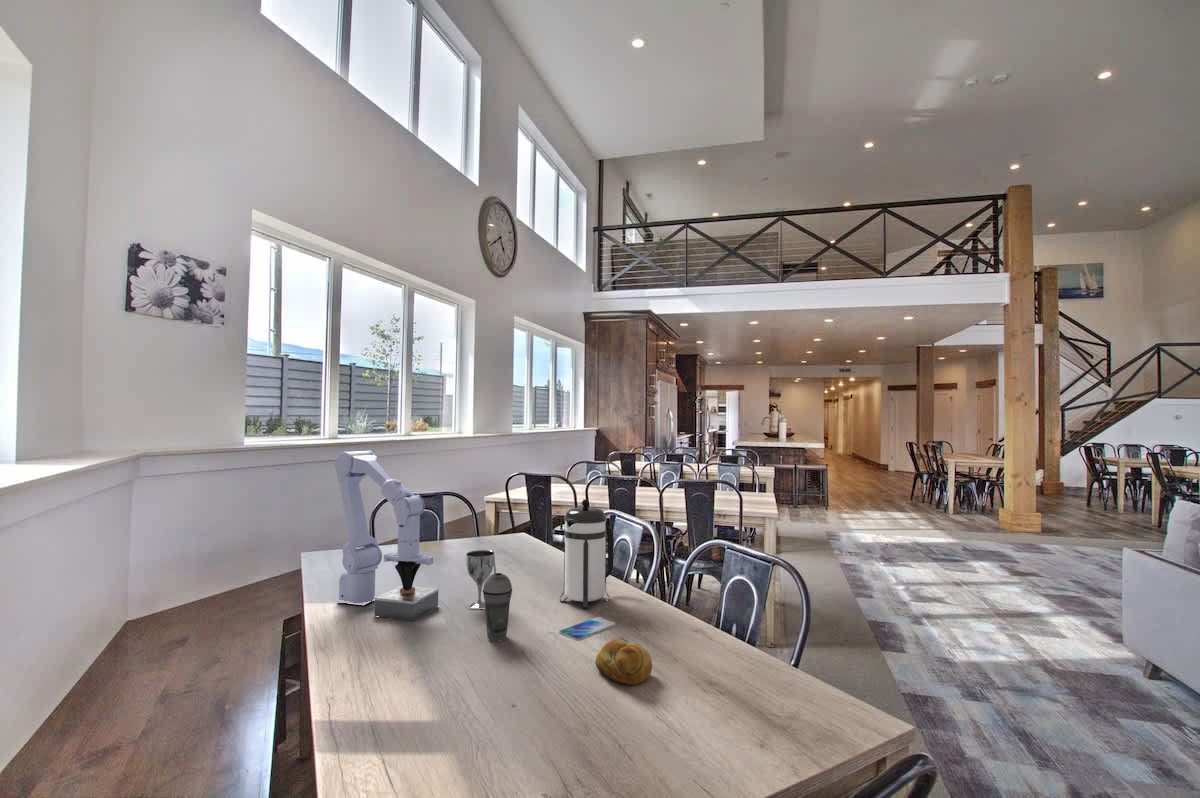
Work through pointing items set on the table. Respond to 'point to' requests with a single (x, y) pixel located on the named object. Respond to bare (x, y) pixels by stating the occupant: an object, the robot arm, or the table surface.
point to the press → (406, 603)
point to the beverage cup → (497, 604)
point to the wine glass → (479, 570)
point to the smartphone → (587, 628)
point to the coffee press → (586, 554)
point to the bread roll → (624, 662)
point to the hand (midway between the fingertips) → (407, 589)
